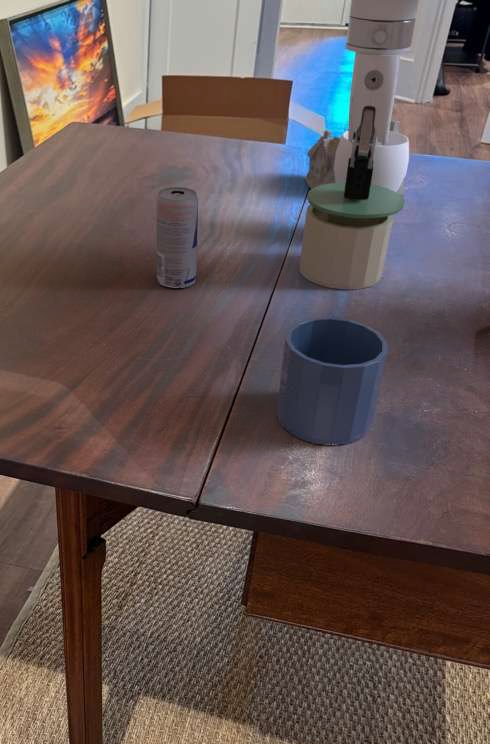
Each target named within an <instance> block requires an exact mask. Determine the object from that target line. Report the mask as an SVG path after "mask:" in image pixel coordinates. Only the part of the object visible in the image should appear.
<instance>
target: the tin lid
mask: <svg viewBox="0 0 490 744" xmlns="http://www.w3.org/2000/svg"><path fill="white" fill-rule="evenodd" d="M367 167H368V166H367ZM345 184H346V182H341V183H330V184H324V185H320V186H317V187H315V188H313V189H312V190H311V189H310V190H309V191H308V193H307V203H308V204H309V205H310V204H311V205H312V206H313V207H315V208H316V209H318V210H321V211H323V212H326V213H329V214H333V215H338V216H343V217H351V218H379V217H385V216H390V215H393V216H394V215H396V214H398V213H400V212H401V211H402V210H403V209H404V208H405V202H406V201H405V198H404V196H401V195H400V194H398V193H397V192H395V191H392V190H390V189H387V188H384V187H381V186H376V185H371V186H370V192H369V198H368V199H367V200H361V199H348V198H345V197H344V191H345Z"/></svg>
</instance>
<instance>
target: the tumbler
mask: <svg viewBox="0 0 490 744" xmlns="http://www.w3.org/2000/svg"><path fill="white" fill-rule="evenodd" d="M285 334H286V335H285V337H284V346H283V355H282V364H281V371H280V373H281V374H280V380H279V388H278V397H277V406H276V417H277V416H278V418H277V420H278V419H279V420H278V422H279V421H280V422H279V424H280V423H281V424H282V425H283V427H284V428H285V429H286V430H287V431H289V432H290V433H291V434H293V435H294V436H293V435H292V436H293V437H295V436H296V437H298V438H297V439H299V438H301V439H303V440H307V441H309V442H313V443H318V444H330V445H332V444H334V445H335V444H337V445H336V446H339V445H338V444H345V445H348V444H347V443H349V444H352V443H355V442H357V441H360V440H361V439H363V438H364V437H365V436H366V435H367V433H368V432H369V431H370V429H371V426H372V423H373V417H374V415H375V410H376V406H377V401H378V396H379V391H380V387H381V383H382V378H383V373H384V369H385V365H386V360H387V356H388V341H387V340H386V339H385V338H384V336H383V335H382V334H381V333H380V332H379V331H378V330H376V329H374V328H373V327H371V326H369V325H368V324H366V323H362V322H359V321H356V320H352V319H350V318H342V317H336V316H322V317H321V316H320V317H319V316H318V317H310V318H307V319H303V320H301V321H297V322H295V323H294V324H293V325H292V326H290V327H289V328H288V329H287V330H286V333H285ZM281 424H280V425H281ZM283 427H282V428H283ZM284 428H283V429H284ZM285 429H284V430H285ZM286 430H285V431H286ZM287 431H286V432H287ZM289 432H288V433H289ZM290 433H289V434H290ZM291 434H290V435H291ZM296 437H295V438H296ZM301 439H300V440H301ZM303 440H302V441H303ZM354 441H355V442H354ZM309 442H308V443H309ZM351 442H352V443H351ZM313 443H312V444H313ZM318 444H317V445H318Z"/></svg>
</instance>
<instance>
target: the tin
mask: <svg viewBox="0 0 490 744" xmlns="http://www.w3.org/2000/svg"><path fill="white" fill-rule="evenodd" d="M305 211H306V212H305V220H304V226H303V236H302V243H301V249H300V250H301V252H300V259H299V273H300V274H301V275H302V276H303V277H304V278H305V279H306V280H308V281H309V282H312V283H314V284H316V285H319V286H322V287H326V288H330V289H337V290H361V289H366V288H370V287H372V286H375V285H377V284H378V283H379V282H381V279H382V276H383V273H384V268H385V263H386V259H387V253H388V250H389V249H388V248H389V244H390V238H391V234H392V233H391V232H392V230H393V229H392V228H393V224H394V214H393V215H390V216H385V217H379V218H351V217H343V216H338V215H333V214H329V213H326V212H323V211H321V210H318V209H316V208H315V207H313V206H312V205H311V204H310V203H309V205H307V207H306V210H305Z"/></svg>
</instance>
